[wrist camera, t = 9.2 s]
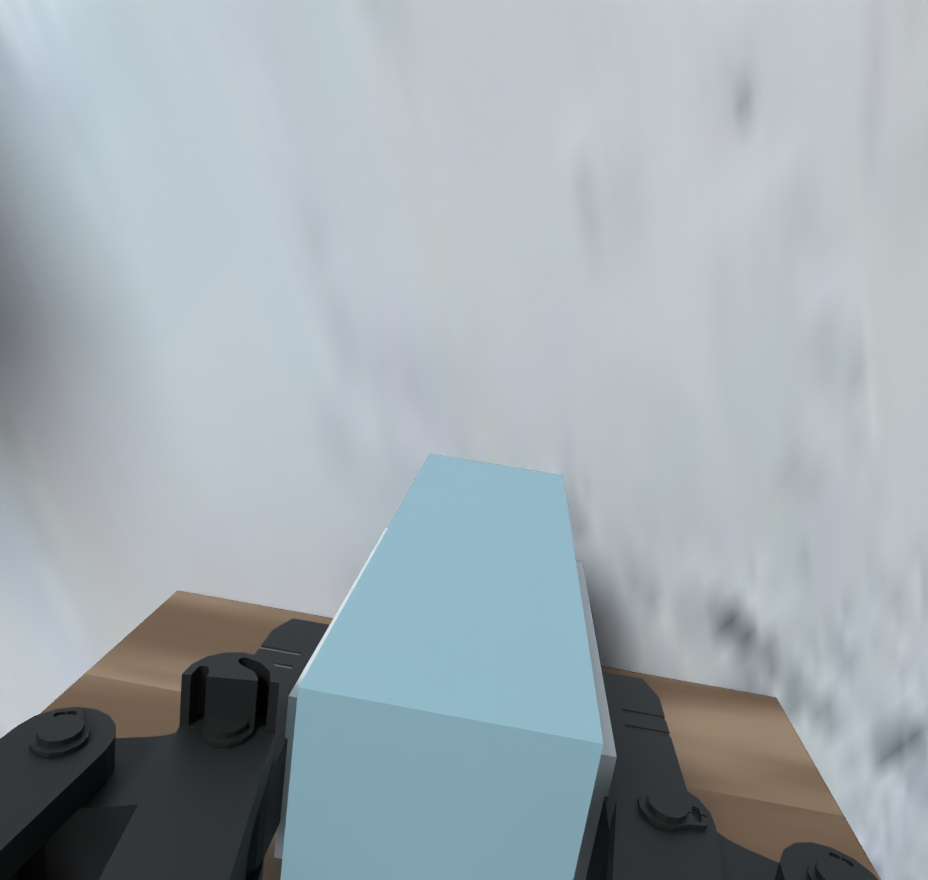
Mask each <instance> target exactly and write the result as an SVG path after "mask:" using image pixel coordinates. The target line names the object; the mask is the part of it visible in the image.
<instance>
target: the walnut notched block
mask: <svg viewBox="0 0 928 880" xmlns="http://www.w3.org/2000/svg"><path fill="white" fill-rule="evenodd" d="M293 618H295V619H300V620H306V621H311V622H317V623H323V624H328V625H330V624H331V622H332V620H333V618H327V617H322V616H316V615H311V614H305V613H299V612H294V611H288V610H283V609H277V608H271V607H266V606H260V605H255V604H249V603H243V602H238V601H232V600H227V599H221V598H215V597H210V596H204V595H199V594H193V593H187V592H182V591H177V592H175V593H174V594H173V595H172V596H171V597H170V598H169V599H168V600H167V601H165V602H164V603H163V604H162V605H161V606H160V607H159V608H158V609H156V610H155V611H154V612H153V613H152V614H151V615H150V616H149V617H148V618H146V619H145V620H144V621H143V622H142V623H141V624H140V625H139V626H138V627H136V628H135V629H134V630H133V631H132V632H131V633H130V634H129V635H127V636H126V637H125V638H124V639H123V640H122V641H121V642H120V643H119V644H117V645H116V646H115V647H114V648H113V649H112V650H111V651H110V652H108V653H107V654H106V655H105V656H104V657H103V658H102V659H101V660H100V661H98V662H97V663H96V664H95V665H94V666H93V667H92V668H91V669H89V670H88V671H87V672H86V673H85V674H84V675H83V676H82V677H81V678H79V679H78V680H77V681H76V682H75V683H74V684H73V685H72V686H71V687H69V688H68V689H67V690H66V691H65V692H64V693H63V694H62V695H60V696H59V697H58V698H57V699H56V700H55V701H54V702H53V703H52V704H50V705H49V706H48V707H47V708H46V709H45V710H44V711H43V712H41V713H40V714H42V713H45V712H49V711H52V710H55V709H61V708H70V707H84V708H93V709H97V710H99V711H101V712H103V713H105V714H108V715H109V716H110V717H111V719H112V720H113V721H114V723H115V724H116V738H132V737H153V736H161V735H168V734H172V733H176V731H177V729H178V728H179V723H180V702H181V681H182V673H183V672H184V671H185V670H186V669H187V668H188V667H189V666H190V665H191V664H193V663H195V662H197V661H199V660H201V659H203V658H205V657H207V656H211V655H216V654H220V653H226V652H244V653H249V654H254V655H255V653H256V652H257V650H258V649H260V648H261V645H262V644H263V642H264V641H265V639H266V638H267V637H268V635H269V634H270V633H271V631H272V630H273V629H275V628H277V627H278V626H280V625H282V624H284V623H285V622H287V621H289V620H291V619H293ZM601 670H602V672H608V673H614V674H619V675H625V676H630V677H636V678H642V679H643V680H644V681H645V682H646V683H647V684H648V685H649V686H650V688H651V689H652V690H653V691H654V692H655V693H656V694H657V696H658V697H659V699H660V702H661V705H662V709H663V712H664V715H665V720H666V722H667V725H668V729H669V732H670V734H669V736H670V737H671V739H672V742H673V745H674V748H675V752H676V755H677V758H678V762H679V765H680V768H681V772H682V775H683V778H684V782H685V785H686V788H687V791H688V792H690V793H691V794H693V795H694V796H695V797H697V798H698V799H699V800H700V801H701V802H702V803H703V805H704V806H705V807H706V808H707V809H708V810H709V812H710V813H711V815H712V818H713V821H714V823H715V826H716V830H717V832H718V833H720V834H721V835H722V836H724V837H725V838H727V839H728V840H730V841H732V842H734V843H736V844H738V845H740V846H742V847H744V848H746V849H748V850H751V851H753V852H755V853H758V854H760V855H762V856H764V857H767V858H769V859H771V860H774V861H776V862H778V863H779V862H780V859H781V856H782V853H783V850H784V849H785V848H787V847H789V846H790V845H792V844H793V843H802V842H813V843H817V844H820V845H824V846H828V847H832V848H834V849H836V850H838V851H840V852H842V853H844V854H846V855H848V856H850V857H852V858H853V859H855V860H856V861H857V862H859V863H860V864H861V865H863V866H864V867H865V868H867V869H868V870H869V871H870V872H872V873H873V874H874V875H875V876H876V877H877V879H878V880H881V879H880V878H879V876H878V874H877V872H876V871H875V869H874V867H873V865H872V864H871V862H870V860H869V858H868V857H867V855H866V853H865V851H864V850H863V848H862V846H861V844H860V843H859V841H858V839H857V837H856V836H855V834H854V832H853V831H852V829H851V827H850V825H849V824H848V822H847V820H846V818H845V817H844V815H843V813H842V811H841V810H840V808H839V806H838V804H837V803H836V801H835V799H834V797H833V796H832V794H831V792H830V790H829V789H828V787H827V785H826V783H825V782H824V780H823V778H822V776H821V775H820V773H819V771H818V769H817V768H816V766H815V764H814V762H813V761H812V759H811V757H810V756H809V754H808V752H807V750H806V749H805V747H804V745H803V743H802V742H801V740H800V738H799V736H798V735H797V733H796V731H795V729H794V728H793V726H792V724H791V722H790V721H789V719H788V717H787V715H786V714H785V712H784V710H783V708H782V707H781V705H780V703H779V701H778V700H777V698H775V697H770V696H764V695H758V694H753V693H747V692H742V691H736V690H730V689H725V688H719V687H714V686H708V685H702V684H697V683H691V682H686V681H680V680H674V679H669V678H663V677H658V676H652V675H646V674H641V673H635V672H630V671H624V670H618V669H613V668H607V667H602V666H601ZM275 840H276V832H275V834H274V837H273V839H272V841H271V843H270V845H269V847H268V850H267V852H266V854H265V856H264V866H263V878H262V880H280V879H281V868H282V859H280V858H275V857H274V852H275Z"/></svg>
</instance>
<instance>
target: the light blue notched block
mask: <svg viewBox="0 0 928 880" xmlns="http://www.w3.org/2000/svg"><path fill="white" fill-rule="evenodd" d="M602 748H603V737H602V731H601V724H600V717H599V711H598V704H597V697H596V691H595V684H594V678H593V671H592V664H591V658H590V651H589V644H588V638H587V631H586V625H585V618H584V611H583V605H582V598H581V591H580V585H579V578H578V572H577V565H576V558H575V552H574V545H573V538H572V532H571V525H570V519H569V512H568V505H567V499H566V492H565V485H564V479H563V475H557V474H551V473H545V472H539V471H533V470H527V469H521V468H514V467H508V466H502V465H496V464H490V463H484V462H478V461H472V460H465V459H459V458H453V457H447V456H441V455H435V454H429V456H428V458H427V460H426V461H425V463H424V465H423V467H422V468H421V470H420V472H419V474H418V476H417V477H416V479H415V481H414V483H413V484H412V486H411V488H410V490H409V492H408V493H407V495H406V497H405V499H404V500H403V502H402V504H401V506H400V508H399V509H398V511H397V513H396V515H395V516H394V518H393V520H392V522H391V524H390V525H389V527H388V529H387V531H386V532H385V534H384V536H383V538H382V540H381V541H380V543H379V545H378V547H377V548H376V550H375V552H374V554H373V556H372V557H371V559H370V561H369V563H368V564H367V566H366V568H365V570H364V572H363V573H362V575H361V577H360V579H359V580H358V582H357V584H356V586H355V587H354V589H353V591H352V593H351V595H350V596H349V598H348V600H347V602H346V603H345V605H344V607H343V609H342V611H341V612H340V614H339V616H338V618H337V619H336V621H335V623H334V625H333V627H332V628H331V630H330V632H329V634H328V635H327V637H326V639H325V641H324V643H323V644H322V646H321V648H320V650H319V651H318V653H317V655H316V657H315V659H314V660H313V662H312V664H311V666H310V667H309V669H308V671H307V673H306V675H305V676H304V678H303V680H302V682H301V683H300V685H299V687H298V696H297V707H296V717H295V728H294V739H293V750H292V760H291V771H290V782H289V793H288V803H287V814H286V825H285V836H284V847H283V857H282V868H281V879H280V880H573V878H574V874H575V869H576V865H577V860H578V856H579V851H580V847H581V843H582V838H583V834H584V829H585V825H586V820H587V816H588V811H589V807H590V802H591V798H592V793H593V789H594V784H595V780H596V775H597V771H598V766H599V762H600V757H601V753H602Z"/></svg>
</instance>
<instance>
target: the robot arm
mask: <svg viewBox="0 0 928 880" xmlns="http://www.w3.org/2000/svg"><path fill="white" fill-rule="evenodd" d="M387 529H388V528H385V530H384V532H383V534H382V535H381V537H380V539H379V541H378V542H377V544H376V546H375V547H374V549H373V551H372V553H371V554H370V556H369V558H368V560H367V561H366V563H365V565H364V566H363V568H362V570H361V572H360V573H359V575H358V577H357V579H356V580H355V582H354V584H353V586H352V587H351V589H350V591H349V592H348V594H347V596H346V598H345V599H344V601H343V603H342V605H341V606H340V608H339V610H338V611H337V613H336V615H335V617H334V618H333V620H332V622H331V624H330V625H328V624H323V623H317V622H311V621H306V620H300V619H295V618H293V619H291V620H289V621H287V622H285V623H284V624H282V625H280V626H278V627H277V628H275V629H273V630H272V631H271V633H270V634H269V635H268V637H267V638H266V639H265V641H264V642H263V644H262V645H261V648H260V649H258V650H257V652H256V653H255V655H254V654H249V653H244V652H226V653H220V654H216V655H211V656H207V657H205V658H203V659H201V660H199V661H197V662H195V663H193V664H191V665H190V666H189V667H188V668H187V669H186V670H185V671H184V672H183V673H182V681H181V702H180V723H179V728H178V729H177V731H176V733H172V734H168V735H161V736H153V737H132V738H116V724H115V723H114V721H113V720H112V719H111V717H110V716H109V715H108V714H105V713H103V712H101V711H99V710H97V709H93V708H84V707H70V708H61V709H55V710H52V711H49V712H45V713H42V714H39V715H36V716H34V717H32V718H30V719H29V720H27V721H25V722H23V723H22V724H20V725H18V726H17V727H15V728H14V729H13V730H11V731H10V732H9V733H8V734H6V735H5V736H4V737H2V738H1V739H0V880H262V878H263V866H264V856H265V854H266V852H267V850H268V847H269V845H270V843H271V841H272V839H273V837H274V834H275V832H276V840H275V852H274V857H275V858H280V859H282V857H283V847H284V836H285V825H286V814H287V803H288V793H289V782H290V771H291V760H292V750H293V739H294V728H295V717H296V707H297V696H298V687H299V685H300V683H301V682H302V680H303V678H304V676H305V675H306V673H307V671H308V669H309V667H310V666H311V664H312V662H313V660H314V659H315V657H316V655H317V653H318V651H319V650H320V648H321V646H322V644H323V643H324V641H325V639H326V637H327V635H328V634H329V632H330V630H331V628H332V627H333V625H334V623H335V621H336V619H337V618H338V616H339V614H340V612H341V611H342V609H343V607H344V605H345V603H346V602H347V600H348V598H349V596H350V595H351V593H352V591H353V589H354V587H355V586H356V584H357V582H358V580H359V579H360V577H361V575H362V573H363V572H364V570H365V568H366V566H367V564H368V563H369V561H370V559H371V557H372V556H373V554H374V552H375V550H376V548H377V547H378V545H379V543H380V541H381V540H382V538H383V536H384V534H385V532H386V531H387ZM576 565H577V572H578V578H579V585H580V591H581V598H582V605H583V611H584V618H585V625H586V631H587V638H588V644H589V651H590V658H591V664H592V671H593V678H594V684H595V691H596V697H597V704H598V711H599V717H600V724H601V731H602V737H603V748H602V753H601V757H600V762H599V766H598V771H597V775H596V780H595V784H594V789H593V793H592V798H591V802H590V807H589V811H588V816H587V820H586V825H585V829H584V834H583V838H582V843H581V847H580V851H579V856H578V860H577V865H576V869H575V874H574V878H573V880H878V879H877V877H876V876H875V875H874V874H873V873H872V872H870V871H869V870H868V869H867V868H865V867H864V866H863V865H861V864H860V863H859V862H857V861H856V860H855V859H853V858H852V857H850V856H848V855H846V854H844V853H842V852H840V851H838V850H836V849H834V848H832V847H828V846H824V845H820V844H817V843H813V842H802V843H793V844H792V845H790V846H789V847H787V848H785V849H784V850H783V853H782V856H781V859H780V862H779V863H778V862H776V861H774V860H771V859H769V858H767V857H764V856H762V855H760V854H758V853H755V852H753V851H751V850H748V849H746V848H744V847H742V846H740V845H738V844H736V843H734V842H732V841H730V840H728V839H727V838H725V837H724V836H722V835H721V834H720V833H718V832H717V830H716V826H715V823H714V821H713V818H712V815H711V813H710V812H709V810H708V809H707V808H706V807H705V806H704V805H703V803H702V802H701V801H700V800H699V799H698V798H697V797H695V796H694V795H693V794H691V793H690V792H688V791H687V788H686V785H685V782H684V778H683V775H682V772H681V768H680V765H679V762H678V758H677V755H676V752H675V748H674V745H673V742H672V739H671V737H670V736H669V734H670V732H669V729H668V725H667V722H666V720H665V715H664V712H663V709H662V705H661V702H660V699H659V697H658V696H657V694H656V693H655V692H654V691H653V690H652V689H651V688H650V686H649V685H648V684H647V683H646V682H645V681H644V680H643V679H642V678H636V677H630V676H625V675H619V674H614V673H608V672H602V670H601V665H600V659H599V653H598V648H597V642H596V636H595V631H594V625H593V619H592V614H591V608H590V602H589V596H588V591H587V585H586V579H585V574H584V568H583V562H582V561H578V560H576Z"/></svg>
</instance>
